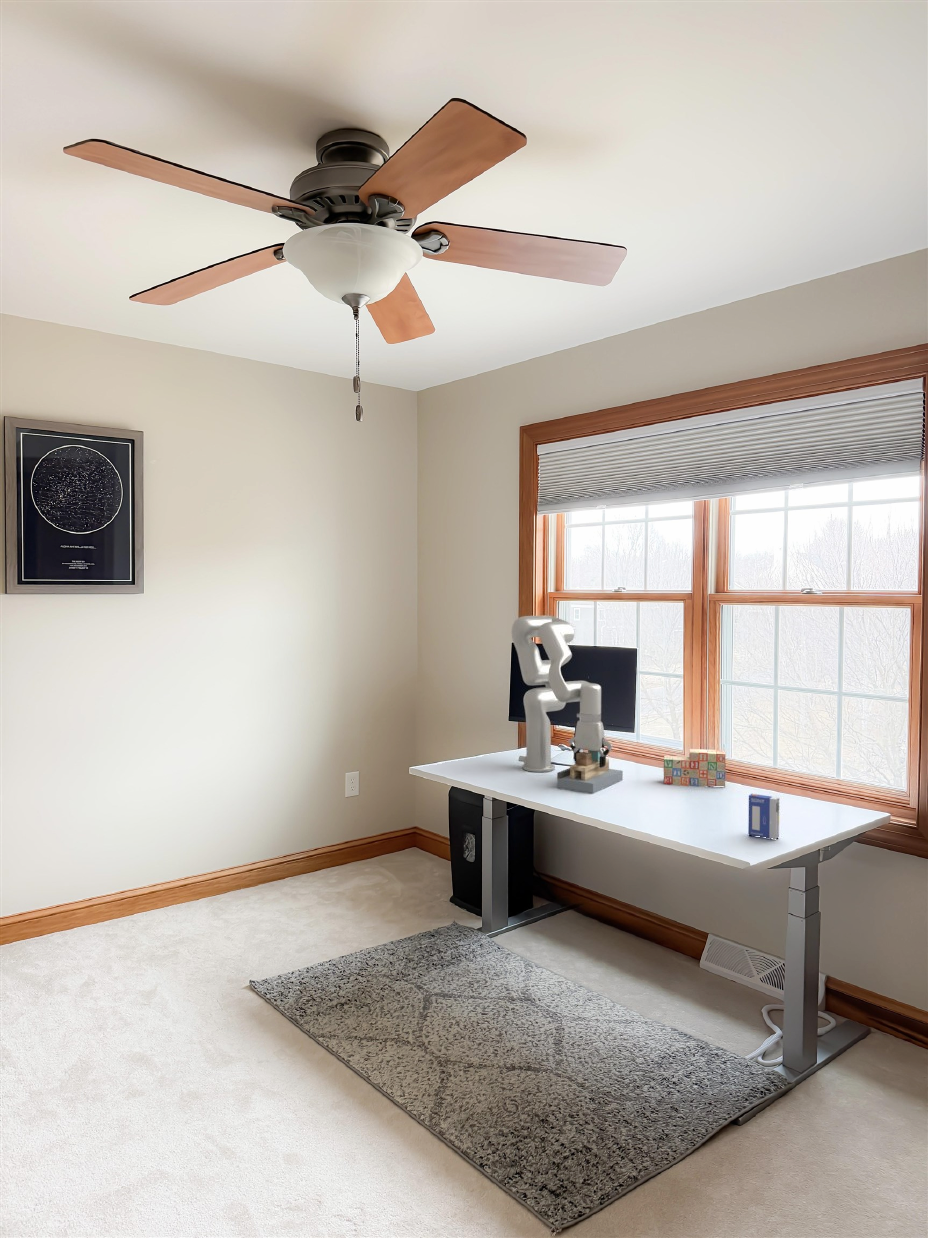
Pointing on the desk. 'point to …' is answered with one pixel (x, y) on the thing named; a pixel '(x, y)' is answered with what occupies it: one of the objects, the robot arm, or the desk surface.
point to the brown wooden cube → (583, 759)
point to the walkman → (763, 816)
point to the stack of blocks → (696, 768)
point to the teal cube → (595, 755)
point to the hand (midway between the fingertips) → (589, 765)
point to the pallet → (588, 770)
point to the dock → (588, 781)
